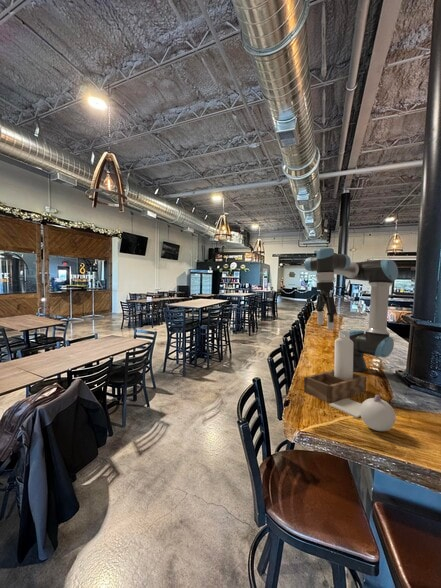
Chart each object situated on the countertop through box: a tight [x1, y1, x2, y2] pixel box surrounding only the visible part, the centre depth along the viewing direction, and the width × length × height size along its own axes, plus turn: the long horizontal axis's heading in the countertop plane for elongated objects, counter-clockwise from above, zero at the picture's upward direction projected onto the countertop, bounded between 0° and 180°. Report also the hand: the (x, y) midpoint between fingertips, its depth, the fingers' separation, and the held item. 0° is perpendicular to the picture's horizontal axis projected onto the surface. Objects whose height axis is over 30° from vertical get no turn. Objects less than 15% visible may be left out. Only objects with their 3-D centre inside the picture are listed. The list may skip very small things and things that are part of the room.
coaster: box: [328, 397, 362, 419], centre depth 106 cm, size 12×12×1 cm
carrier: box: [303, 369, 367, 404], centre depth 122 cm, size 26×14×7 cm, turn 120°
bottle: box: [333, 329, 354, 380], centre depth 125 cm, size 8×8×28 cm
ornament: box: [360, 394, 397, 432], centre depth 90 cm, size 10×10×12 cm
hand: (325, 327), depth 123 cm, fingers open, 13 cm apart
